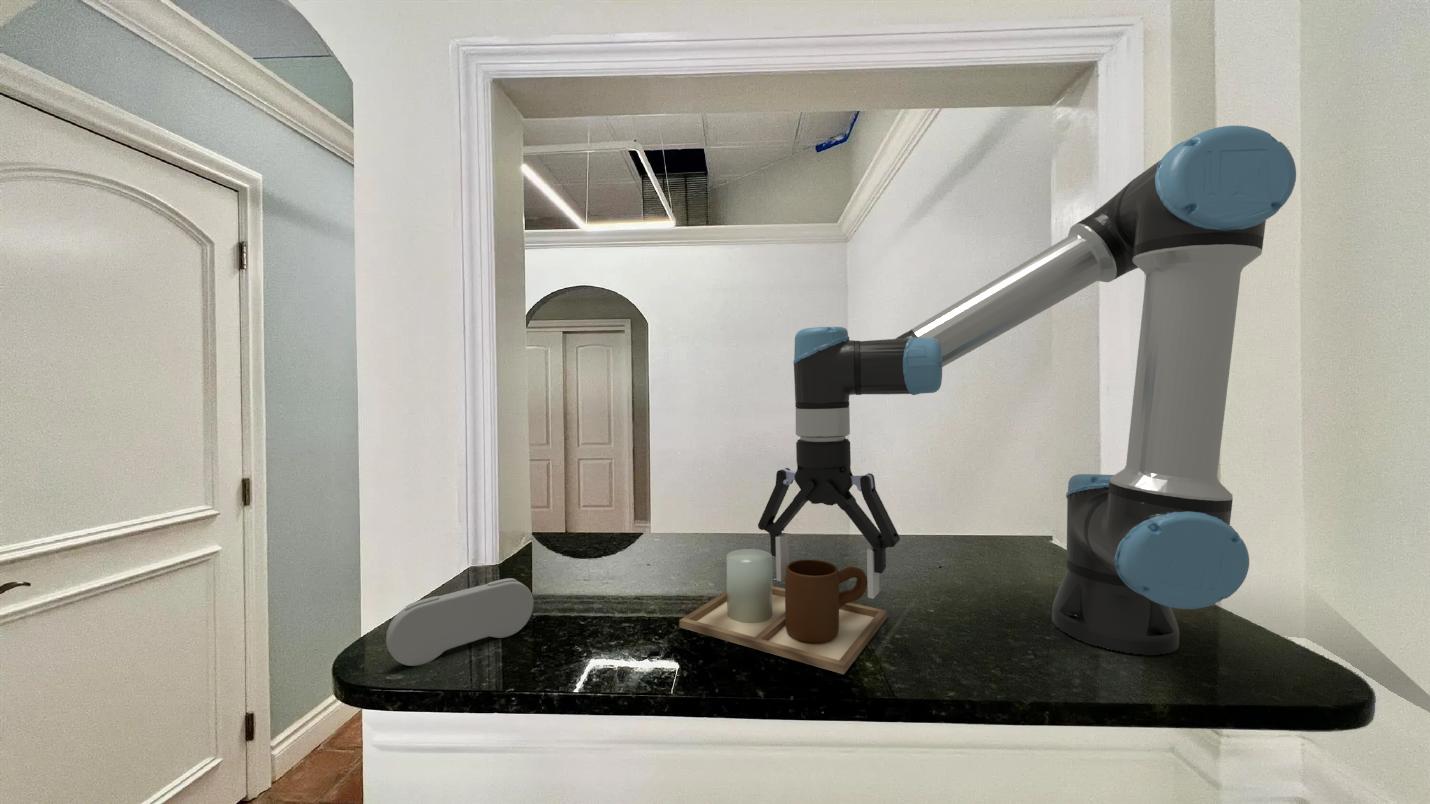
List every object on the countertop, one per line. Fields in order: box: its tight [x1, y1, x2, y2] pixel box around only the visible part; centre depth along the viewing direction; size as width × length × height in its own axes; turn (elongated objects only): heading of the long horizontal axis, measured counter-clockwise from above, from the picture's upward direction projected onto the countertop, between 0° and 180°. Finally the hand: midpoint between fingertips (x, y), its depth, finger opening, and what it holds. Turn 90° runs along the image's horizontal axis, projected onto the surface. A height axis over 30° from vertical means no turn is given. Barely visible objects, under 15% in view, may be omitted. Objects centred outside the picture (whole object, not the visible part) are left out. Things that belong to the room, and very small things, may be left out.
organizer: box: [678, 585, 888, 675], centre depth 84 cm, size 25×19×2 cm
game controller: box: [385, 577, 534, 667], centre depth 79 cm, size 20×2×8 cm, turn 133°
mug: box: [784, 559, 868, 643], centre depth 80 cm, size 12×8×9 cm, turn 98°
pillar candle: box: [726, 548, 773, 623], centre depth 87 cm, size 7×7×9 cm
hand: (826, 586), depth 80 cm, fingers open, 13 cm apart
